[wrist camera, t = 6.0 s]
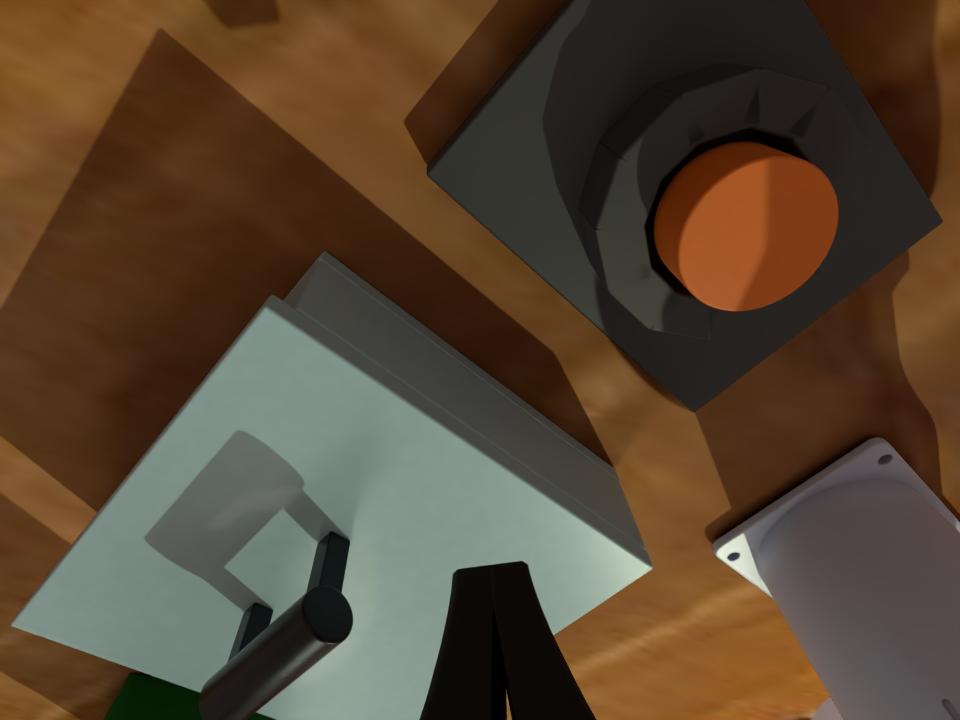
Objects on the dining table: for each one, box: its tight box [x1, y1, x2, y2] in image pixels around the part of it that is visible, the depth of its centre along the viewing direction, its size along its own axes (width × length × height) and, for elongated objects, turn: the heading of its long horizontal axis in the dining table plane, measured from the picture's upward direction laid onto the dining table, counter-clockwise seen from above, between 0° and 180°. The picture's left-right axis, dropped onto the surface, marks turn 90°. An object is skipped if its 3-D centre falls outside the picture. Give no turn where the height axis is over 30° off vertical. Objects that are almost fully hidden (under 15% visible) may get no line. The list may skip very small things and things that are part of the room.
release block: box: [427, 0, 943, 412], centre depth 15 cm, size 12×9×3 cm
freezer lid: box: [11, 295, 653, 720], centre depth 16 cm, size 14×14×4 cm
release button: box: [654, 142, 839, 311], centre depth 13 cm, size 4×4×2 cm
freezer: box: [283, 251, 645, 550], centre depth 20 cm, size 13×14×4 cm
